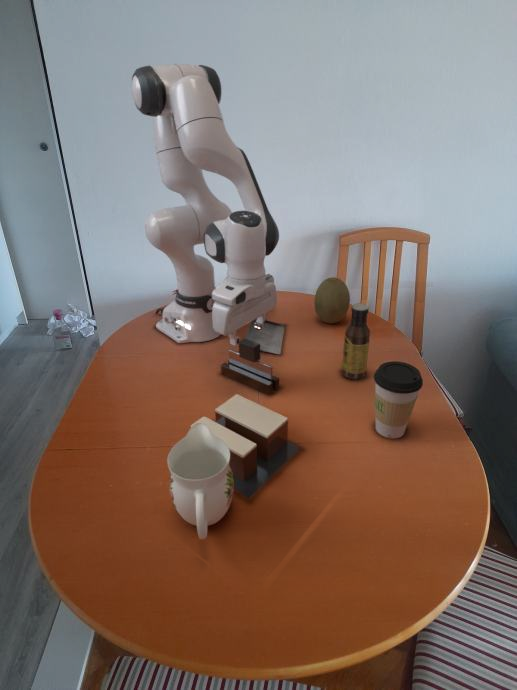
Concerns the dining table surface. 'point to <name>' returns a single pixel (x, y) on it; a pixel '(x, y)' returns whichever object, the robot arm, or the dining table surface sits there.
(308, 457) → the dining table surface
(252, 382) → the stand
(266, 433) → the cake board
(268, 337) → the meat cleaver
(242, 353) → the dough scraper
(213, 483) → the pitcher
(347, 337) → the sauce bottle
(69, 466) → the dining table surface
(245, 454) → the cake slice
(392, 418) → the coffee cup
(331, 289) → the fruit
